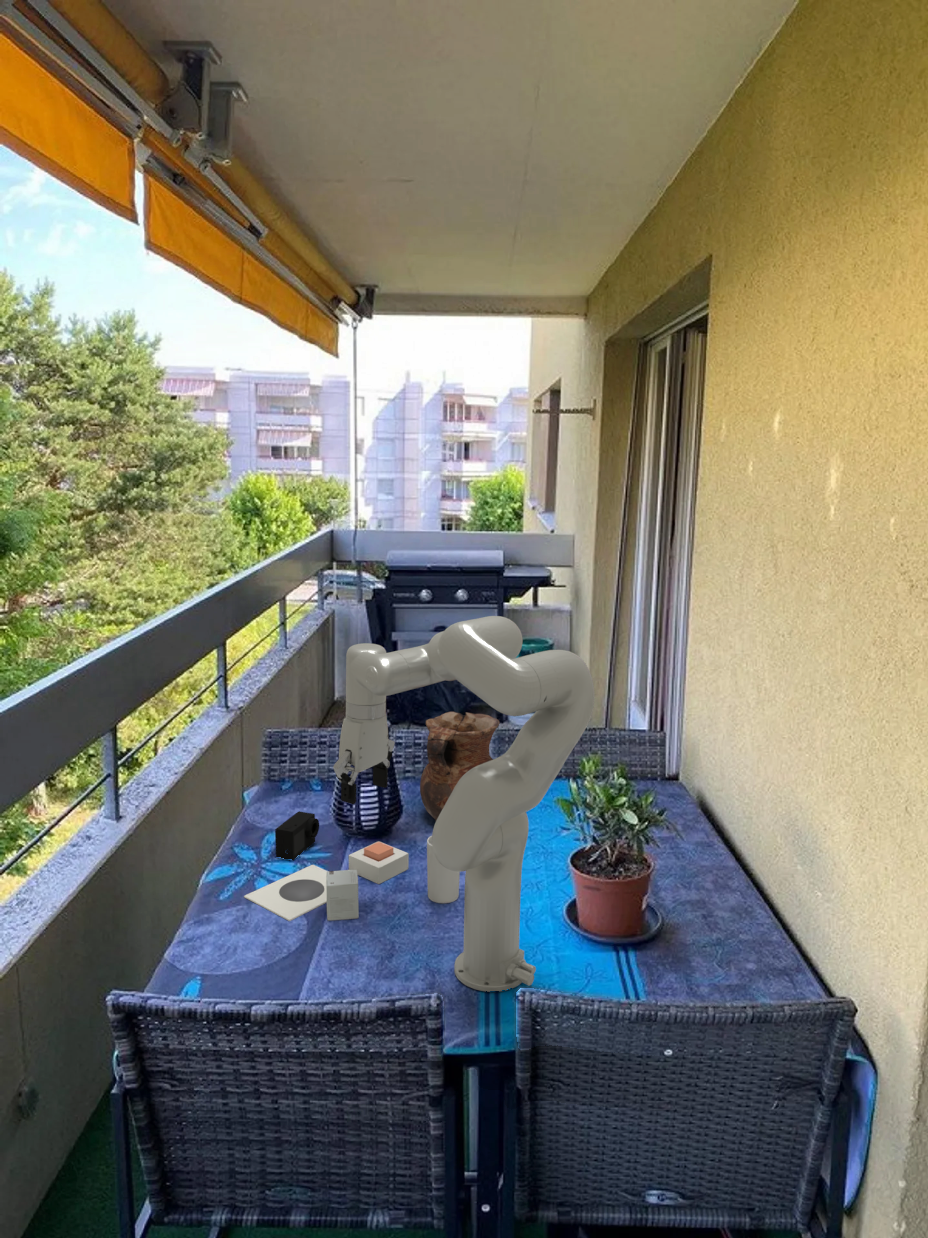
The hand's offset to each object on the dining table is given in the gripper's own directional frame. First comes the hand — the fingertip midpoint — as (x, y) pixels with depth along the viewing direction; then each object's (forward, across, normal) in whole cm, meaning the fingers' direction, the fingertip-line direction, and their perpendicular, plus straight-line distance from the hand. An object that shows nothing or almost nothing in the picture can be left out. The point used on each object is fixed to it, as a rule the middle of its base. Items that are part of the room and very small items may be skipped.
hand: (364, 793), depth 170 cm
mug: (+23, -12, +11) cm, 28 cm away
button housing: (+23, -13, -6) cm, 27 cm away
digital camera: (+24, -10, -26) cm, 37 cm away
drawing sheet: (+23, +4, -13) cm, 27 cm away
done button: (+21, -13, -6) cm, 25 cm away
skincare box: (+23, +5, -1) cm, 24 cm away
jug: (+24, -46, -6) cm, 52 cm away
